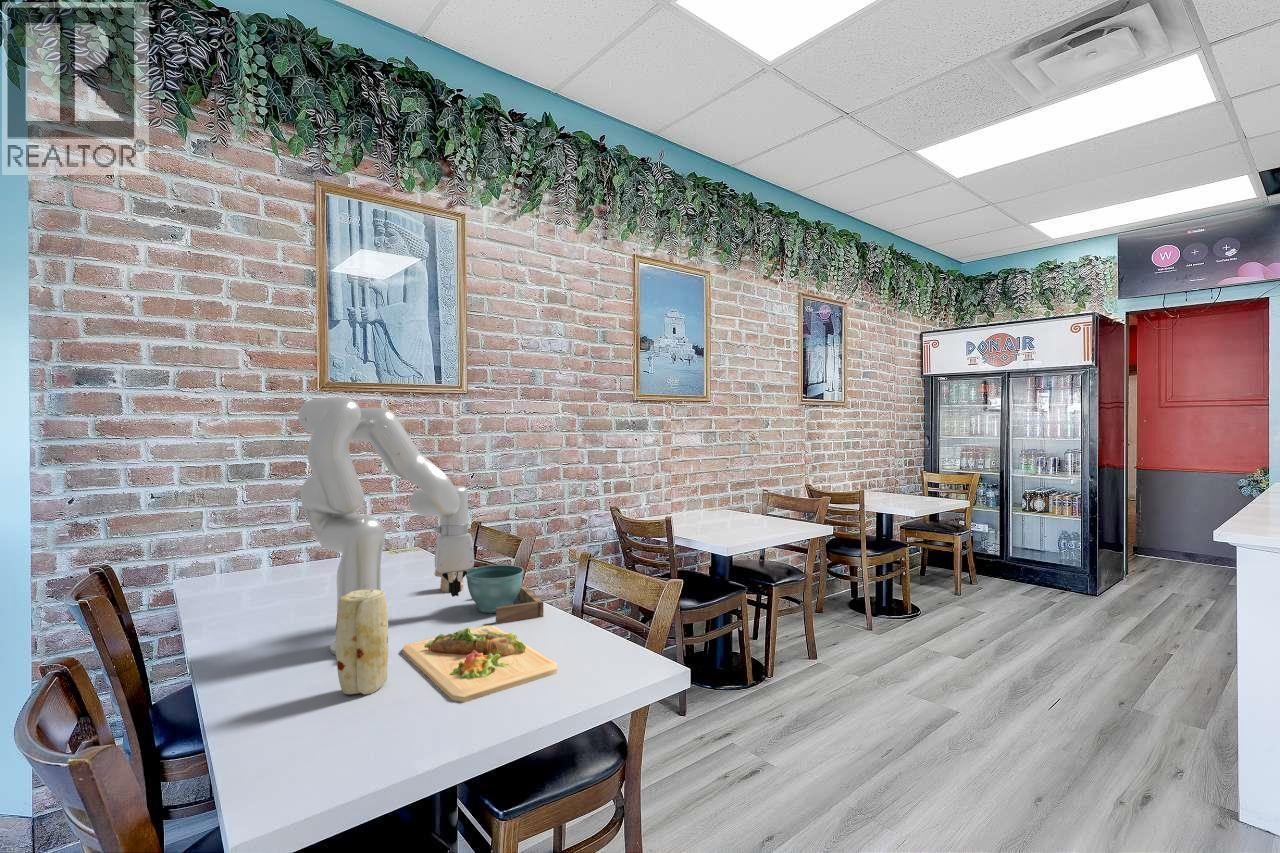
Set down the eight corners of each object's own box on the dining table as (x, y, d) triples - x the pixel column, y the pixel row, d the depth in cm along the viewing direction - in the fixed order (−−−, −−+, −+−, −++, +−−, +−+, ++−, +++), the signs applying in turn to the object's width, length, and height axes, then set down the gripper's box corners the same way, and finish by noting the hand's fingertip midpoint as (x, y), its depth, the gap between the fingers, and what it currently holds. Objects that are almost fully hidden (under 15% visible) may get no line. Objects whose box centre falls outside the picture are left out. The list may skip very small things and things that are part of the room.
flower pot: (464, 603, 176) (464, 566, 176) (519, 597, 181) (519, 562, 181) (467, 620, 160) (467, 580, 160) (527, 613, 166) (527, 575, 166)
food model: (383, 678, 124) (382, 583, 124) (394, 688, 119) (393, 590, 119) (332, 692, 118) (331, 592, 118) (341, 704, 113) (340, 599, 113)
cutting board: (562, 674, 127) (562, 639, 127) (457, 707, 113) (457, 668, 113) (491, 630, 155) (491, 602, 155) (399, 652, 140) (399, 621, 140)
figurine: (467, 587, 193) (467, 550, 193) (458, 593, 186) (458, 555, 186) (446, 586, 194) (446, 550, 194) (436, 592, 187) (436, 554, 187)
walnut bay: (543, 616, 164) (543, 602, 163) (497, 623, 158) (497, 608, 158) (518, 592, 187) (518, 579, 187) (477, 598, 181) (477, 585, 181)
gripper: (428, 534, 159) (428, 602, 160) (483, 529, 166) (484, 594, 166) (424, 530, 166) (424, 595, 166) (478, 525, 173) (478, 588, 173)
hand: (454, 594), depth 166 cm, fingers closed
